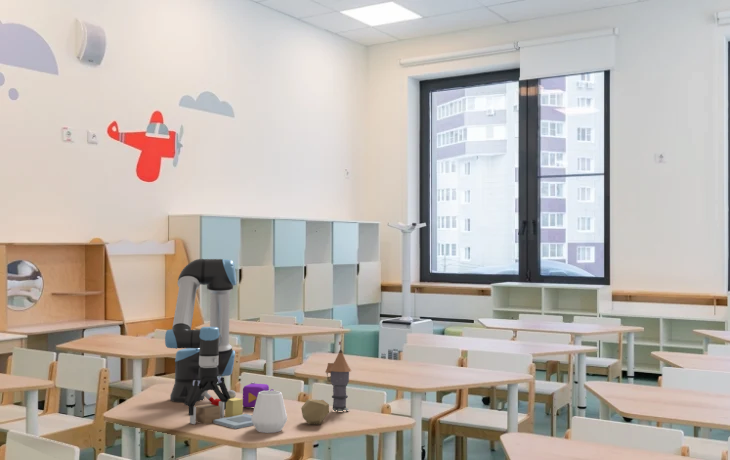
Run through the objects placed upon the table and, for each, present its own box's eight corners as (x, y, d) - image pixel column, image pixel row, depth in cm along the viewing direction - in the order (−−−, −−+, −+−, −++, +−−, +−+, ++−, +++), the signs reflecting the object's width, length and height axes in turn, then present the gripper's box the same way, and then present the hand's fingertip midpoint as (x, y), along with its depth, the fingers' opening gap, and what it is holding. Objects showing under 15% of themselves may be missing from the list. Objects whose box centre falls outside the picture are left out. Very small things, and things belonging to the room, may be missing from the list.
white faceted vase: (288, 433, 259) (289, 395, 260) (252, 434, 257) (253, 396, 257) (285, 425, 272) (286, 389, 273) (250, 426, 270) (251, 389, 270)
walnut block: (194, 421, 277) (194, 406, 277) (209, 419, 282) (209, 403, 282) (204, 424, 272) (205, 408, 273) (219, 421, 277) (220, 406, 278)
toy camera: (272, 409, 302) (273, 386, 302) (241, 409, 302) (241, 385, 302) (276, 404, 312) (277, 382, 313) (245, 404, 313) (246, 381, 313)
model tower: (331, 407, 308) (333, 338, 309) (354, 409, 303) (355, 339, 305) (321, 411, 299) (323, 340, 301) (345, 414, 295) (346, 341, 296)
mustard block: (224, 416, 287) (225, 399, 287) (234, 414, 290) (235, 397, 291) (232, 418, 283) (232, 400, 284) (242, 416, 287) (242, 399, 287)
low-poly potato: (310, 429, 268) (336, 414, 270) (296, 403, 270) (323, 388, 273) (309, 431, 282) (334, 417, 284) (296, 407, 284) (321, 393, 287)
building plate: (213, 422, 275) (213, 419, 275) (245, 416, 286) (245, 413, 287) (235, 428, 265) (235, 425, 265) (268, 422, 277) (268, 418, 277)
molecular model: (195, 411, 295) (196, 387, 296) (203, 409, 300) (204, 385, 301) (231, 415, 288) (231, 391, 289) (238, 413, 293) (239, 388, 294)
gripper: (187, 370, 267) (185, 427, 265) (239, 364, 285) (238, 417, 284) (176, 368, 272) (174, 424, 270) (228, 362, 290) (226, 414, 289)
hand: (207, 420), depth 277 cm, fingers open, 13 cm apart
